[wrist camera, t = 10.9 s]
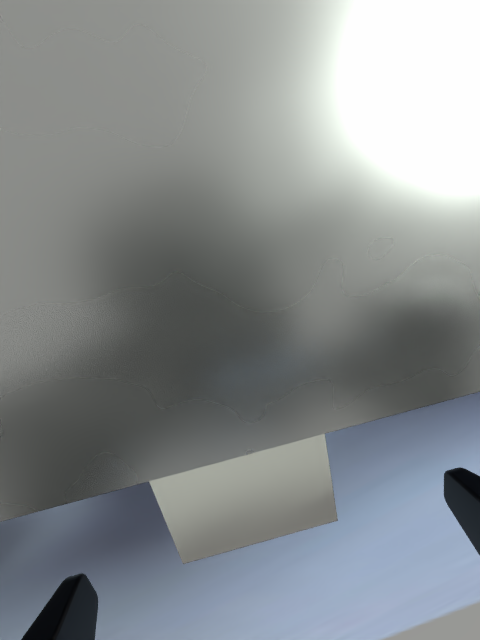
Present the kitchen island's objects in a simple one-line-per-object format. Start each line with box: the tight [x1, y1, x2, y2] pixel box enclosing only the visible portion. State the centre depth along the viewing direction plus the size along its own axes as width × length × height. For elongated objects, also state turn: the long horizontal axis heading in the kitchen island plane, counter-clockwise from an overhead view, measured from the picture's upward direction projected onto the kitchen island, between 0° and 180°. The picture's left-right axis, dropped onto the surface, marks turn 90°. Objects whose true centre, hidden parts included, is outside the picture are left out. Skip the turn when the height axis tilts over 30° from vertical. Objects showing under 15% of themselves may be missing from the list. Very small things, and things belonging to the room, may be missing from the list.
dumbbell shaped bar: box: [149, 434, 338, 564], centre depth 9 cm, size 4×16×4 cm, turn 12°
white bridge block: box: [0, 0, 480, 522], centre depth 7 cm, size 15×6×6 cm, turn 102°
